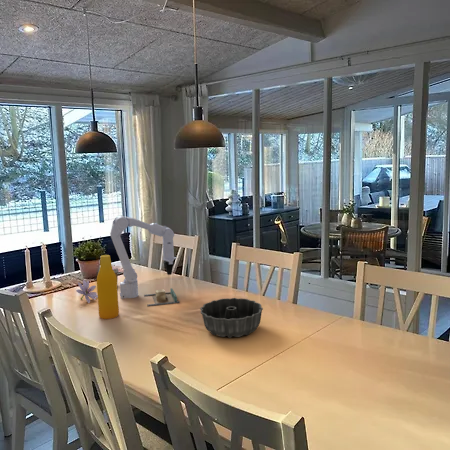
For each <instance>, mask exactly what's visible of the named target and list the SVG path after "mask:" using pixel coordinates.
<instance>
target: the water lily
mask: <svg viewBox="0 0 450 450" xmlns="http://www.w3.org/2000/svg"><path fill="white" fill-rule="evenodd" d="M77 285H78V287H79V289H75V290H76V293H78V294H79V295H82V296H81V297H80V300H82V299H83V298H84V299H85V301H86V302H87V303H88V304H90V303H91V299H93V300H96V301H97V299H98V293H97V291H94V290H95V289H96V288H97V285H95V284H94V285H91V286H90V281H89V280H87V281H86V280H85V279H83V280H82V283H80V282H77Z"/></svg>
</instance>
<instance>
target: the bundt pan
mask: <svg viewBox="0 0 450 450" xmlns="http://www.w3.org/2000/svg"><path fill="white" fill-rule="evenodd" d="M199 308H200V309H199V310H200V314H201V315H202V320H203V321H202V322H203V324H204V328H205V329H206V330H207V331H208V332H210V333H211V334H212V335H213V336H218V337H221V338H224V337H228V339H231V338H232V337H236V338H241V337H242V336H245V335H246V336H248V335H250V333H253V332H255V331H256V330H257V329H258V327H259V325H260V324H261V319H262V313H263V310H264V308H263V307H262V304H261V303H259V302H257V301H255V300H250V299H248V298H237V297H232V298H219V299H217V300H216V299H215V300H212V301H209V302H206V303H204V304H203V305H202V306H201V307H199Z"/></svg>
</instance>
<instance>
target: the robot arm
mask: <svg viewBox="0 0 450 450" xmlns="http://www.w3.org/2000/svg"><path fill="white" fill-rule="evenodd" d="M128 227H129V228H132V227H138V228H140V229H145V230H147V231H148V233H149V234H151V235H154V236H158V237H160V238H161V237H162V254H163V257H162V260H163V264H164V266H165V271H166V274H167V276H170V275H172V274H173V269H174V266H175V263H176V262H175V261H174V260H177V257H176V256H175V251H174V249H175V247H174V237H175V232H174V231H173V229H171V228H170V227H168V226H167V225H161V224H159V223H158V222H155V223H154V222H152V223H148V222H145V221H142V220H139V219H137V218H134V217H130V216H125V215H121V214H120V215H117V216H116V217H115V218H114V220H113V221H112V225H111V229H110V232H109V233H110V234H109V235H110V238H111V240H112V241H111V242H112V243H113V246H114V248H115V250H116V251H115V252H116V254H117V256H118V258H119V261H120V264H121V266H122V268H123V272H122V273H123V277H124V279H123V281H120V282H119V289H120V290H119V296H120V299H121V300H123V299H133V298H137V297H139V287H138V285H139V284H138V273H137V272H136V270H135V269H134V268H133V266H132V264H131V261H130V259H129V256H128V253H127V250H126V248H125V244H124V243H123V240H122V234H123V232H124V231H125V230H126V229H127V228H128Z"/></svg>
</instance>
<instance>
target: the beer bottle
mask: <svg viewBox="0 0 450 450" xmlns="http://www.w3.org/2000/svg"><path fill="white" fill-rule="evenodd" d="M99 269H100V270H99ZM99 269H98V273H97V276H96V288H97V291H96V293H97V295H98V298H97V304H98V305H97V306H98V307H97V308H98V317H99V318H100V319H102V320H103V319H104V320H110V319H111V320H112V319H115V318H117V317H118V316H119V314H120V308H119V307H120V306H119V296H118V295H119V293H118V279H117V277H116V274H115V272H114V271H113V270H114V268H113V266H112V260H111V255H109V254H103V255H100V262H99Z"/></svg>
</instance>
